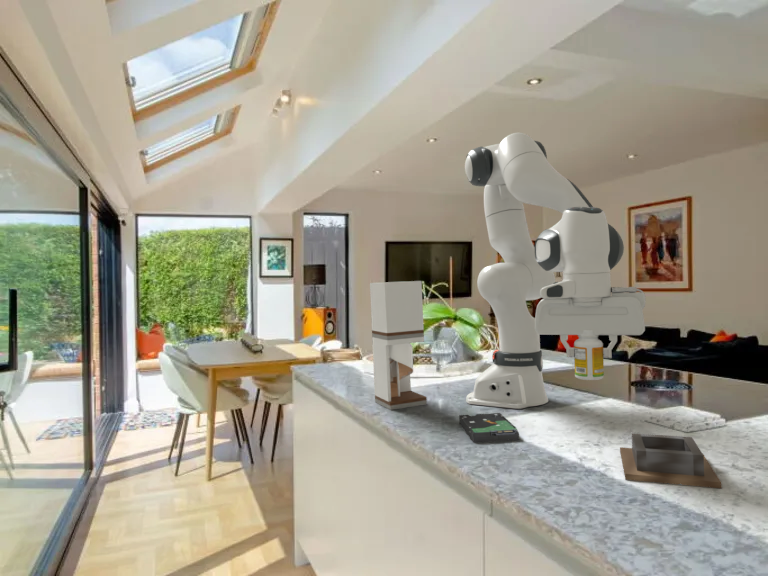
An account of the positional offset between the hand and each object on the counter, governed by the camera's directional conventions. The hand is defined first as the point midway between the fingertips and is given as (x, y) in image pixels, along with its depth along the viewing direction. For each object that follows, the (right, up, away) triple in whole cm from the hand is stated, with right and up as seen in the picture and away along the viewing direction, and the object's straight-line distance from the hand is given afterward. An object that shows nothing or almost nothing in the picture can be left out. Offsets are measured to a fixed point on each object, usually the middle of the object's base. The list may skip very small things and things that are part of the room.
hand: (588, 357), depth 102 cm
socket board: (+9, -18, -11) cm, 23 cm away
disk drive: (-17, -20, +16) cm, 30 cm away
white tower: (-36, -20, +46) cm, 62 cm away
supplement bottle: (0, -4, 0) cm, 4 cm away
